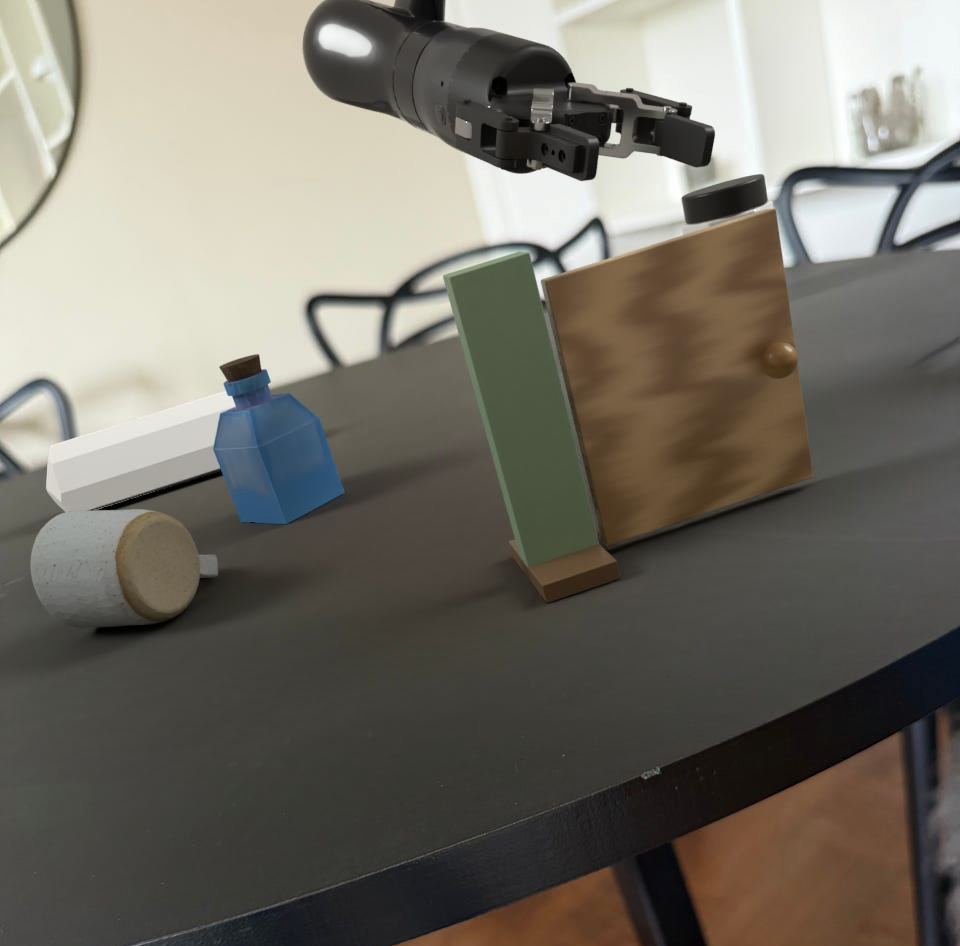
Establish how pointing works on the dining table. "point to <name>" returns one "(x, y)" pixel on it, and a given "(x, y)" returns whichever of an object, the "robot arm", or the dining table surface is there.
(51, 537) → the ceramic mug
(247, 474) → the perfume bottle
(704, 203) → the jar
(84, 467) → the white beveled bar
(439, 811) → the dining table surface
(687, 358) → the door
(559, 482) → the door wall
